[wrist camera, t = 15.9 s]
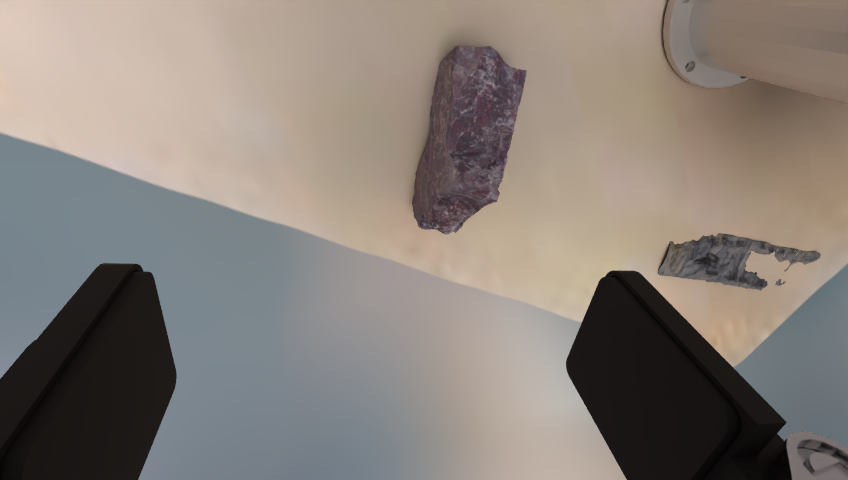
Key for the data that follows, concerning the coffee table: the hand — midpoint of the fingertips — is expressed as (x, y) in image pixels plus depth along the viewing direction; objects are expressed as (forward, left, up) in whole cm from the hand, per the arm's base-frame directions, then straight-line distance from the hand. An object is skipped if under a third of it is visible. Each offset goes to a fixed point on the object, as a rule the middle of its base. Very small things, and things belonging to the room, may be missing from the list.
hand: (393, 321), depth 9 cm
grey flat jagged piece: (-45, +17, -29) cm, 56 cm away
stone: (-8, +4, -29) cm, 30 cm away
